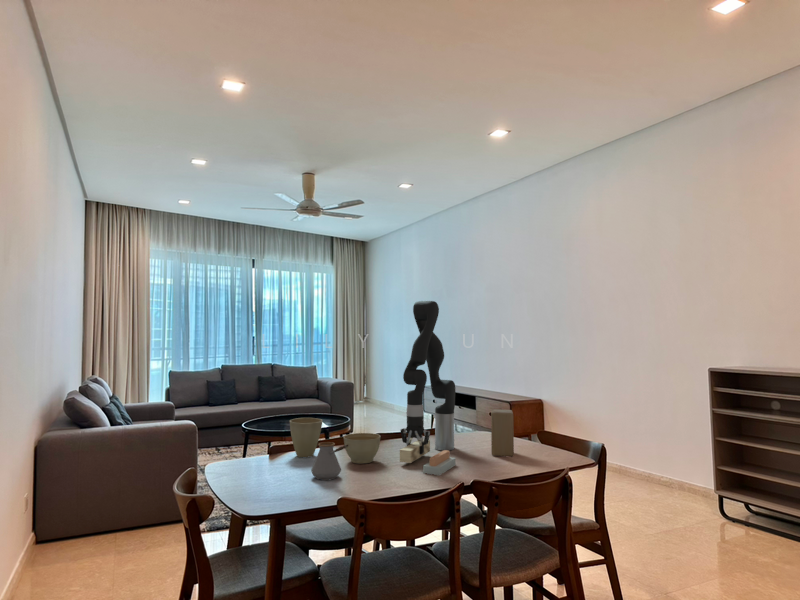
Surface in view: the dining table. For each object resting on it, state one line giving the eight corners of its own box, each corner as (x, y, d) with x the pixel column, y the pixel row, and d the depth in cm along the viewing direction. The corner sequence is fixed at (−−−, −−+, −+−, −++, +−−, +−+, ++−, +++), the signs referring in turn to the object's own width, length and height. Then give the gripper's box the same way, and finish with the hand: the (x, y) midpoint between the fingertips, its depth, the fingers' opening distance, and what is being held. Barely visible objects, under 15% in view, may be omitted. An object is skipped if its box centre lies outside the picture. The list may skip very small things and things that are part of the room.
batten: (419, 450, 234) (419, 439, 234) (429, 451, 232) (429, 440, 232) (399, 461, 214) (399, 449, 214) (410, 463, 212) (410, 451, 212)
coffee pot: (305, 476, 196) (306, 437, 197) (331, 471, 204) (331, 434, 205) (334, 490, 180) (334, 447, 181) (361, 484, 187) (361, 443, 188)
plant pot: (291, 460, 221) (291, 423, 222) (286, 453, 235) (287, 418, 236) (324, 458, 226) (325, 422, 227) (318, 451, 240) (319, 417, 241)
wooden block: (512, 452, 240) (512, 409, 241) (513, 457, 230) (513, 412, 231) (491, 451, 241) (491, 409, 243) (491, 456, 231) (491, 412, 233)
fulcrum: (440, 463, 218) (440, 449, 219) (455, 465, 215) (455, 450, 216) (423, 473, 202) (423, 457, 203) (439, 475, 199) (439, 459, 200)
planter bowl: (371, 455, 231) (371, 431, 232) (386, 463, 217) (386, 437, 218) (338, 459, 224) (338, 434, 225) (351, 467, 210) (351, 441, 211)
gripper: (433, 414, 224) (433, 453, 223) (404, 412, 231) (404, 449, 230) (426, 417, 217) (426, 457, 217) (396, 414, 224) (396, 453, 223)
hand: (415, 453), depth 223 cm, fingers closed on batten, 5 cm apart
